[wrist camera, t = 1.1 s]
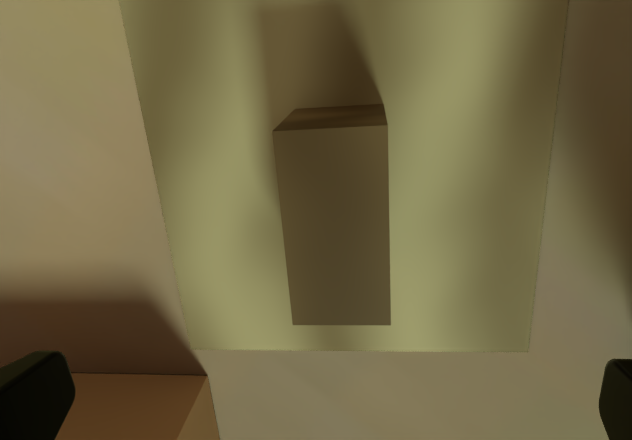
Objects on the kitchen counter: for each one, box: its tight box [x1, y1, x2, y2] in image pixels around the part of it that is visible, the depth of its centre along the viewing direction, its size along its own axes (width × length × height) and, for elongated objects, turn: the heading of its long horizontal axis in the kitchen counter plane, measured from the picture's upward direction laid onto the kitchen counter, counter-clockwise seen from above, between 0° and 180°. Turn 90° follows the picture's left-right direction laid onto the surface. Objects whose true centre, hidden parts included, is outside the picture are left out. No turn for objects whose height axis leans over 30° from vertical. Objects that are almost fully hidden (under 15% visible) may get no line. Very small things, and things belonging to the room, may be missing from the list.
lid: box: [119, 0, 569, 352], centre depth 15 cm, size 14×14×5 cm
